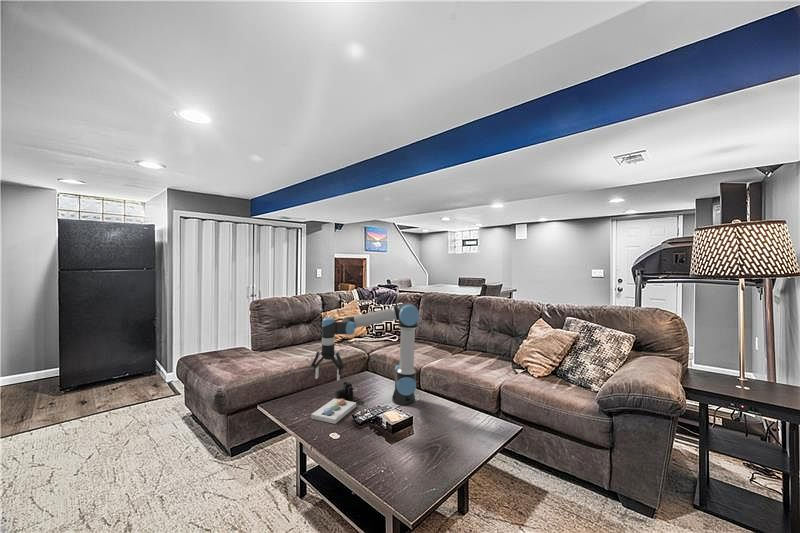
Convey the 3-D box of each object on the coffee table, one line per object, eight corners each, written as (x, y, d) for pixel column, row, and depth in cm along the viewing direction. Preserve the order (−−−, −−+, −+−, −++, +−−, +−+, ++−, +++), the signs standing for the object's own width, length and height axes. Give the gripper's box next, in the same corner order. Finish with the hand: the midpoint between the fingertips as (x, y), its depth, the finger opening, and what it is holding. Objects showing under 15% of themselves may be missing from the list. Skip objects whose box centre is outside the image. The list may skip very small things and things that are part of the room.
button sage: (340, 408, 202) (340, 403, 202) (335, 412, 197) (335, 407, 197) (333, 407, 204) (333, 402, 203) (329, 410, 199) (329, 405, 199)
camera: (333, 396, 224) (333, 381, 224) (348, 393, 229) (348, 379, 228) (338, 404, 211) (338, 388, 211) (354, 401, 216) (354, 386, 216)
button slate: (333, 413, 195) (333, 408, 195) (329, 417, 191) (329, 412, 191) (326, 412, 197) (326, 407, 197) (322, 415, 193) (322, 410, 192)
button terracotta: (346, 404, 208) (346, 399, 208) (342, 407, 204) (342, 402, 204) (339, 402, 210) (339, 398, 210) (335, 406, 206) (335, 401, 205)
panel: (356, 406, 209) (356, 402, 209) (335, 423, 186) (335, 419, 186) (334, 402, 215) (334, 398, 214) (311, 418, 192) (311, 414, 192)
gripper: (350, 343, 203) (349, 378, 203) (311, 341, 207) (310, 375, 207) (346, 346, 195) (345, 382, 196) (305, 344, 199) (305, 379, 200)
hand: (327, 379), depth 201 cm, fingers open, 13 cm apart
